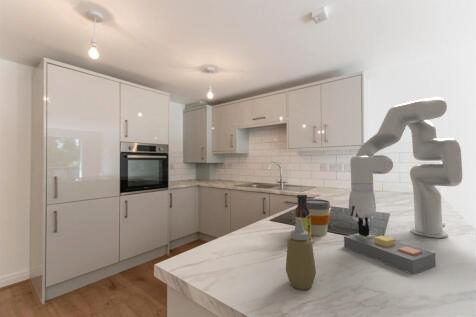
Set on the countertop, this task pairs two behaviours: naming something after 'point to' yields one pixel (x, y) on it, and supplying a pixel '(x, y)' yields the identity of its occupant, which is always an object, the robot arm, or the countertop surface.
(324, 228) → the reusable coffee cup
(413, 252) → the terracotta key
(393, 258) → the console
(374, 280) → the countertop surface
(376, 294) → the countertop surface
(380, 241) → the ochre key
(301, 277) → the squeeze bottle
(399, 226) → the countertop surface
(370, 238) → the sage key
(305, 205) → the sauce bottle
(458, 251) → the countertop surface
